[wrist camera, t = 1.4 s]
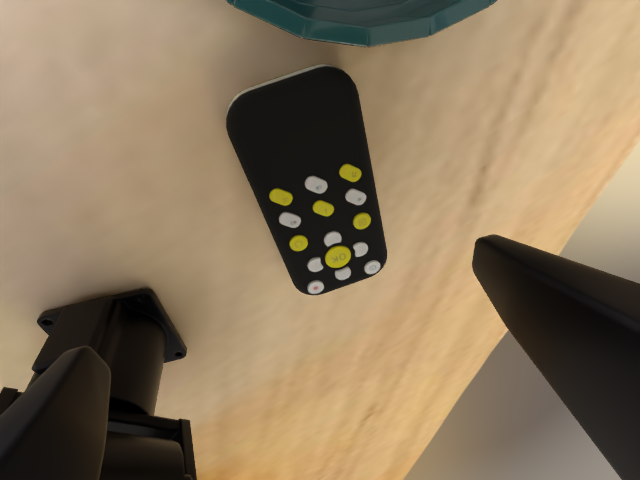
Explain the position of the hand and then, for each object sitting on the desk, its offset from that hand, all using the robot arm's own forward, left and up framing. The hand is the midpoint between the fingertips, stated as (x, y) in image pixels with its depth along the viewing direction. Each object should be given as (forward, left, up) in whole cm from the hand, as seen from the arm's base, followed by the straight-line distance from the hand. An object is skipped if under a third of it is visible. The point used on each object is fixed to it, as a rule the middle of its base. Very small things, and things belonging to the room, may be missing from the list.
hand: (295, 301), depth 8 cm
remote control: (-3, -2, -12) cm, 12 cm away
